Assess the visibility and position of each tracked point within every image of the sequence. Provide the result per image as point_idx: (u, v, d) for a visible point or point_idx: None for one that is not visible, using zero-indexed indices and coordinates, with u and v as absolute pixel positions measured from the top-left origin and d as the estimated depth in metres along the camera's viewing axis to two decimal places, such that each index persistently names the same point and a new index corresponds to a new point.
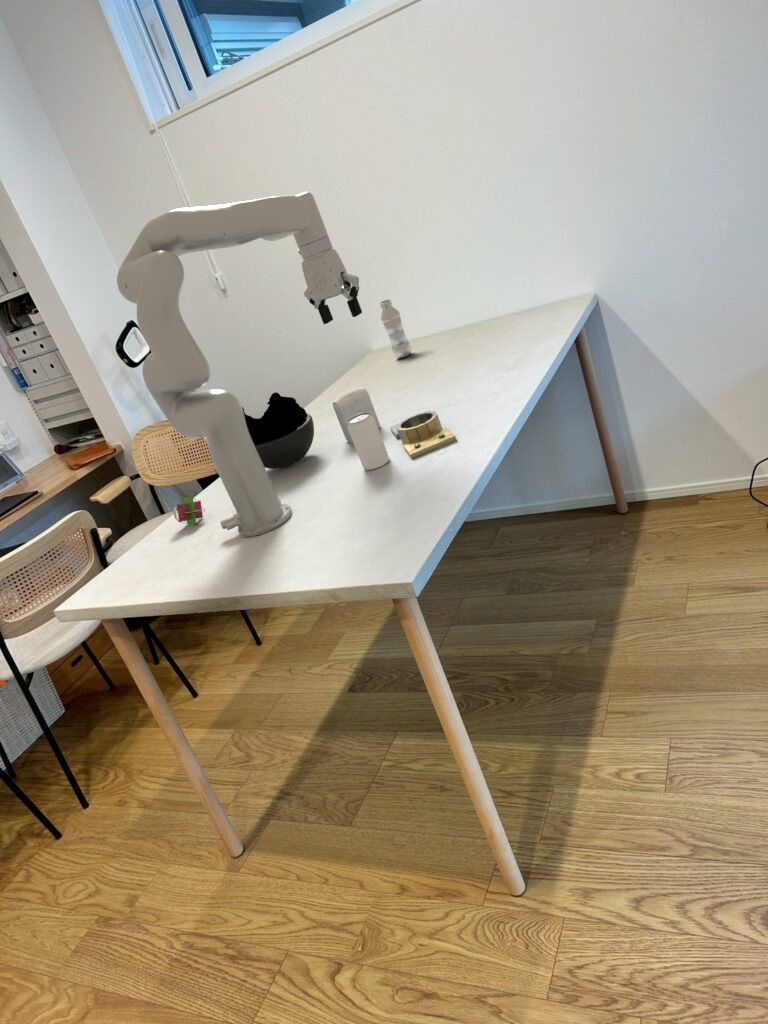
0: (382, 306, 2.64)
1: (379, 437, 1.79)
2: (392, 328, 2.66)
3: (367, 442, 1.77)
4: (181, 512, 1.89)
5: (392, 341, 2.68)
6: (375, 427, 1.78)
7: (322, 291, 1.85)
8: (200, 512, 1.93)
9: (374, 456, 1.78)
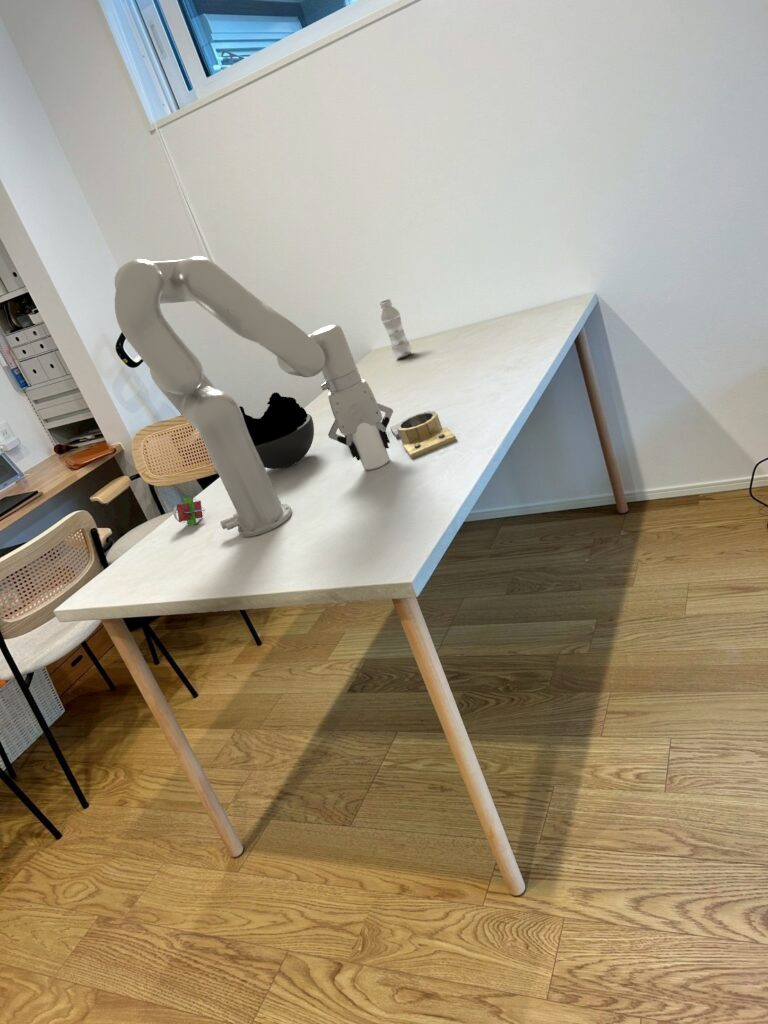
0: (382, 306, 2.64)
1: (379, 437, 1.78)
2: (392, 328, 2.66)
3: (367, 442, 1.77)
4: (181, 512, 1.89)
5: (392, 341, 2.68)
6: (375, 427, 1.78)
7: (359, 422, 1.75)
8: (200, 512, 1.93)
9: (374, 456, 1.78)
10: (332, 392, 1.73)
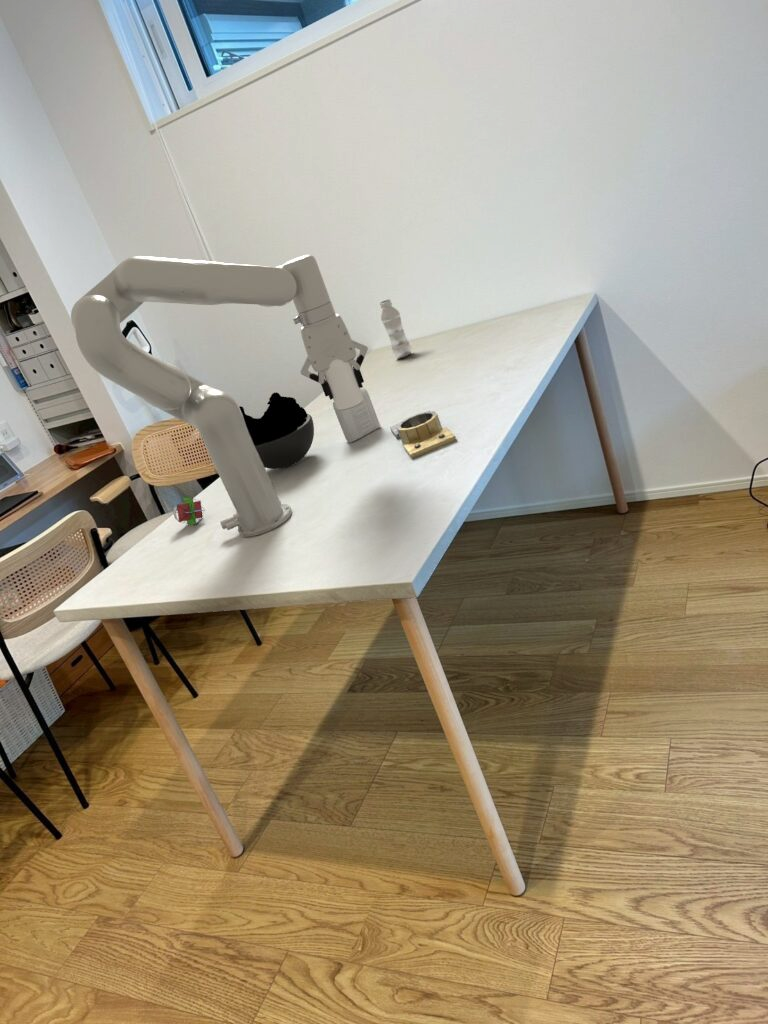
0: (382, 306, 2.64)
1: (353, 375, 1.73)
2: (392, 328, 2.66)
3: (340, 379, 1.71)
4: (181, 512, 1.89)
5: (392, 341, 2.68)
6: (349, 364, 1.72)
7: (332, 358, 1.69)
8: (200, 512, 1.93)
9: (347, 395, 1.72)
10: (304, 326, 1.68)
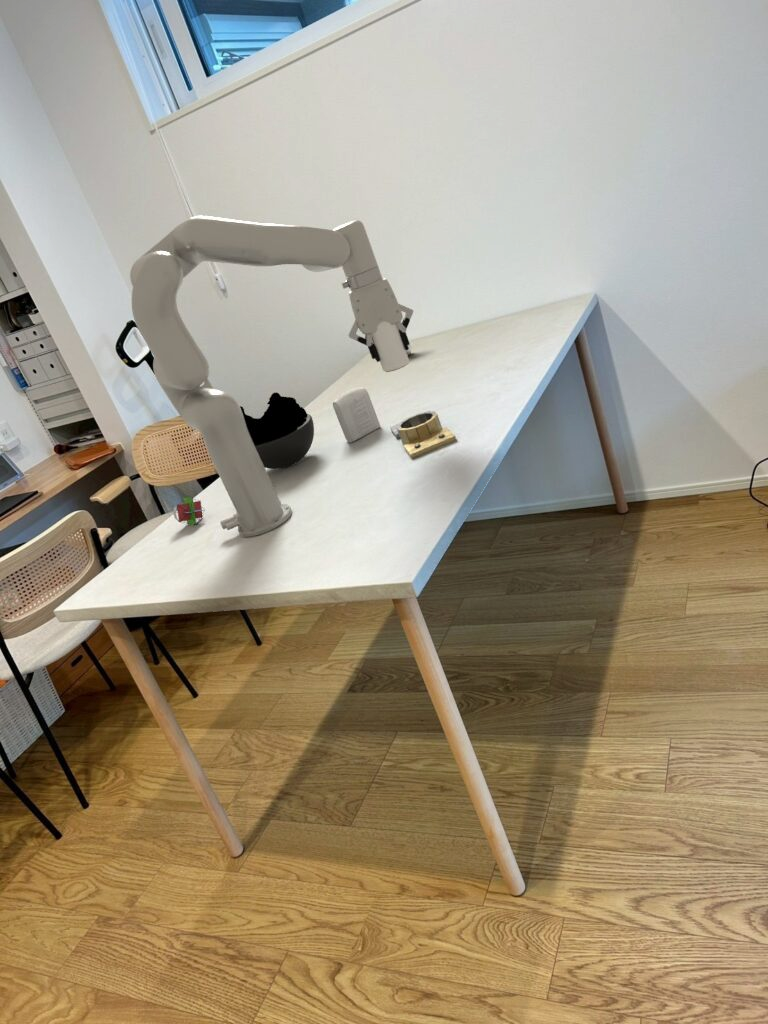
0: None
1: (399, 337, 1.79)
2: None
3: (387, 341, 1.77)
4: (181, 512, 1.89)
5: None
6: (395, 327, 1.78)
7: (379, 321, 1.76)
8: (200, 512, 1.93)
9: (394, 357, 1.78)
10: (353, 289, 1.74)
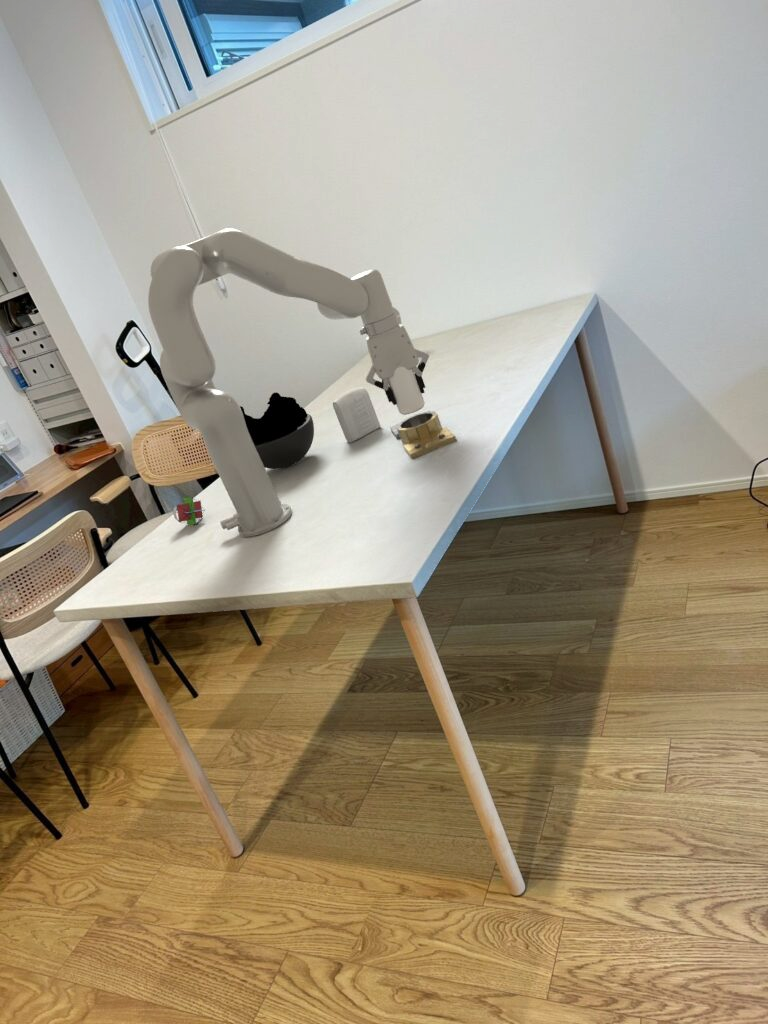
0: None
1: (415, 381, 1.83)
2: None
3: (403, 386, 1.81)
4: (181, 512, 1.89)
5: None
6: (412, 371, 1.82)
7: (396, 366, 1.80)
8: (200, 512, 1.93)
9: (411, 400, 1.83)
10: (370, 336, 1.78)
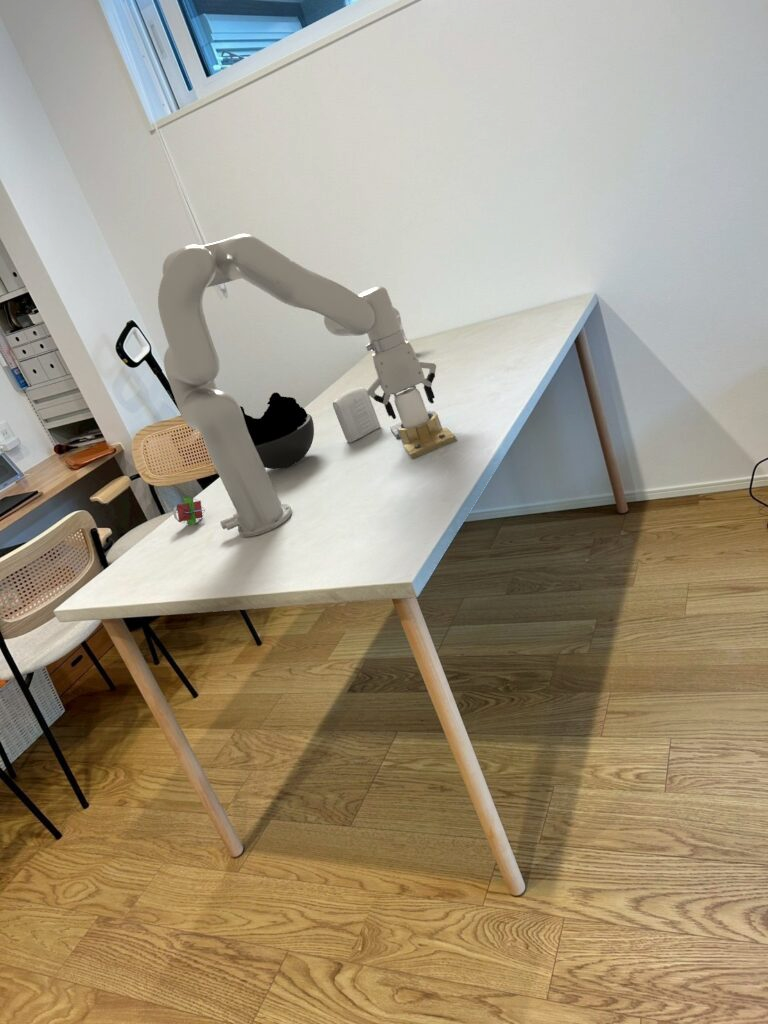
0: None
1: (424, 409, 1.85)
2: None
3: (412, 414, 1.84)
4: (181, 512, 1.89)
5: None
6: (421, 399, 1.84)
7: (402, 382, 1.81)
8: (200, 512, 1.93)
9: None
10: (377, 352, 1.79)
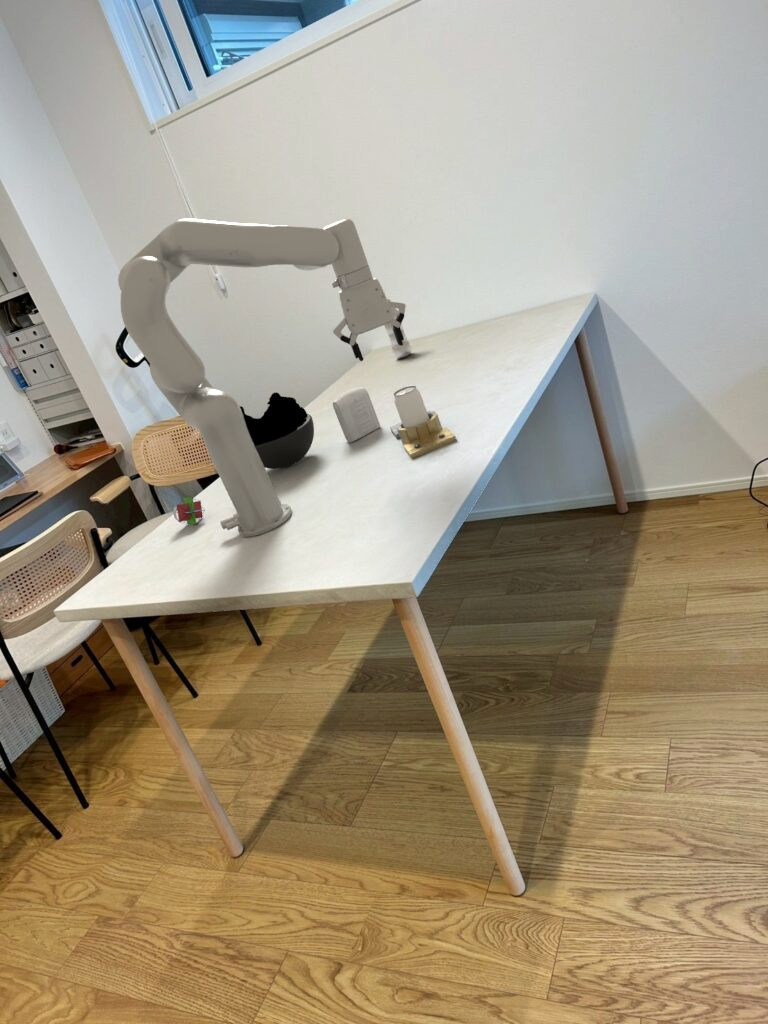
0: None
1: (424, 409, 1.85)
2: (392, 328, 2.66)
3: (412, 414, 1.84)
4: (181, 512, 1.89)
5: (392, 341, 2.68)
6: (421, 399, 1.84)
7: (369, 321, 1.73)
8: (200, 512, 1.93)
9: None
10: (343, 289, 1.71)
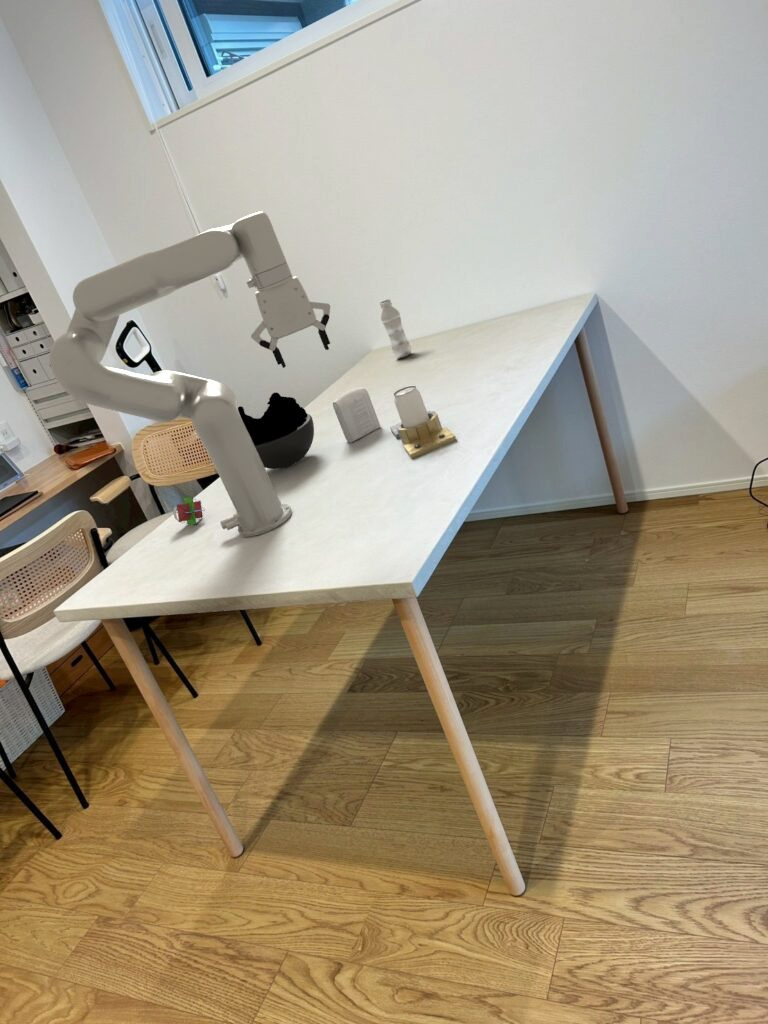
0: (382, 306, 2.64)
1: (424, 409, 1.85)
2: (392, 328, 2.66)
3: (412, 414, 1.84)
4: (181, 512, 1.89)
5: (392, 341, 2.68)
6: (421, 399, 1.84)
7: (289, 324, 1.58)
8: (200, 512, 1.93)
9: None
10: (259, 289, 1.56)
